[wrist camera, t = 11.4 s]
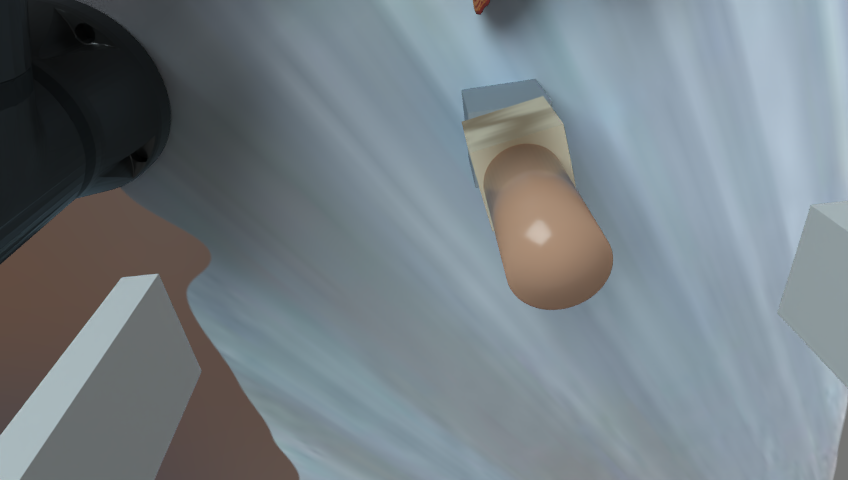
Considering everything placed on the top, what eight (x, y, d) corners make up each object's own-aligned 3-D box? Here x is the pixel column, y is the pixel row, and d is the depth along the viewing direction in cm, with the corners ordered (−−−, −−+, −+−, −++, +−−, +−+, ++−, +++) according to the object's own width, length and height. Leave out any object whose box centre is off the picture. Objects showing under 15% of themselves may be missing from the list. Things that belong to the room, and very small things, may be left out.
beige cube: (482, 192, 42) (492, 231, 37) (461, 121, 39) (469, 152, 34) (558, 170, 41) (579, 206, 36) (543, 95, 38) (563, 124, 33)
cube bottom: (468, 158, 47) (475, 187, 42) (461, 89, 44) (468, 112, 39) (537, 148, 46) (553, 177, 41) (535, 78, 43) (551, 100, 38)
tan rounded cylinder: (485, 220, 36) (508, 314, 28) (480, 148, 34) (503, 228, 25) (562, 211, 36) (609, 304, 27) (564, 138, 33) (616, 215, 25)
